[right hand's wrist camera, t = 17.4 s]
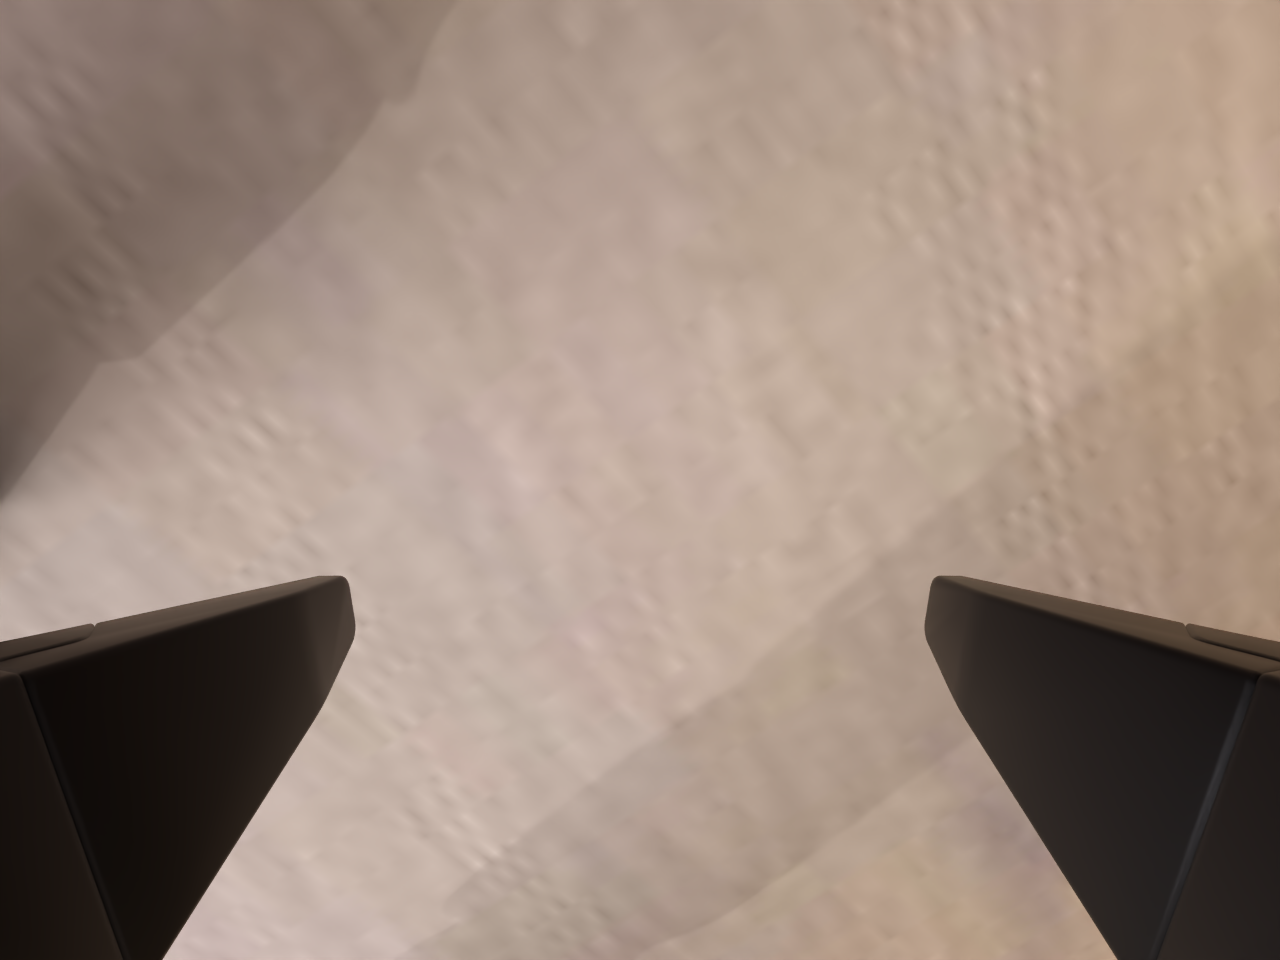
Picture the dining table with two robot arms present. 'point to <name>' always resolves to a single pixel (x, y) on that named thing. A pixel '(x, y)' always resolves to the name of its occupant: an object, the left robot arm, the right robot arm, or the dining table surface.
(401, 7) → the dining table surface
